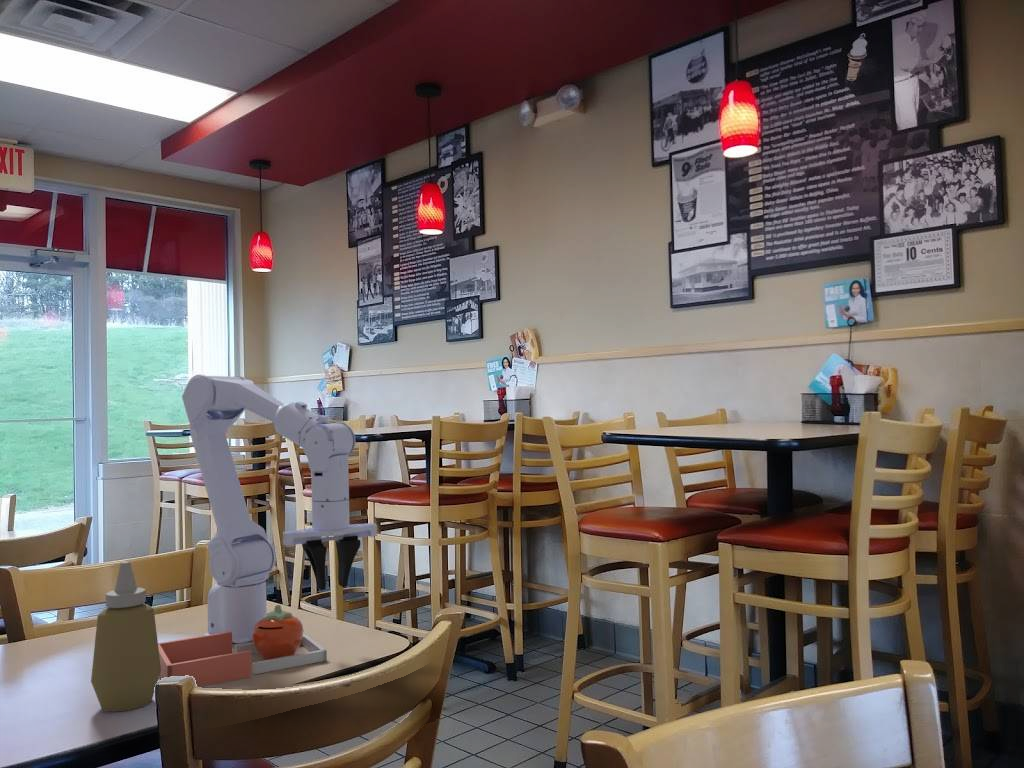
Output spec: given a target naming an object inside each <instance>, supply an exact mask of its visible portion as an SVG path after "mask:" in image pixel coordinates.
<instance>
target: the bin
mask: <svg viewBox="0 0 1024 768" xmlns="http://www.w3.org/2000/svg"><path fill="white" fill-rule="evenodd" d="M158 648H159V656H160V665H161V672H160V676H159V679H160V680H161V678H164V677H170V676H185V675H189V676H193V677H194V678H195V680H196V684H197V686H199V687H205V686H209V685H214V684H219V683H225V682H231V681H235V680H241V679H247V678H251V677H252V653H251V651H250V650H248V651H243V652H237V653H236V652H233V642H232V632H231V631H230V632H224V633H218V634H212V635H206V636H204V635H200V636H194V637H188V638H187V637H186V638H182V639H176V640H170V641H164V642H158Z"/></svg>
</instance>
